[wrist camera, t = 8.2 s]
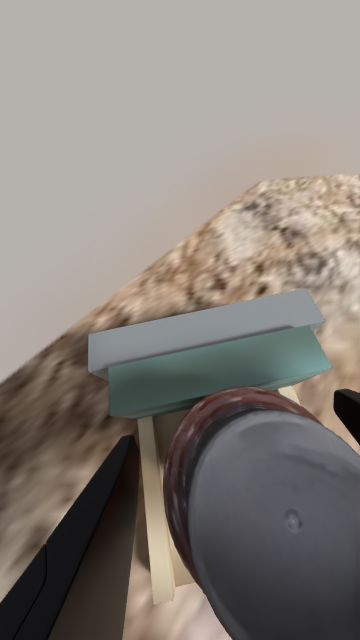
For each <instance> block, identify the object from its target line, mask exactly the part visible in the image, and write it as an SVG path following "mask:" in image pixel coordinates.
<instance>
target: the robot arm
mask: <svg viewBox="0 0 360 640" xmlns="http://www.w3.org/2000/svg"><path fill="white" fill-rule="evenodd" d="M333 408H334V411H335V413H336V415H337V416H338V417H339V419H340V420H341V421H342V423H343V424H344V425H345V427H346V428H347V429H348V431H349V432H350V433H351V434H352V436H353V437H354V438H355V440H356V441H357V442H358V444H359V445H360V393H358V392H355V391H352V390H349V389H340V390H336V391H335V392H334V404H333ZM138 483H139V451H138V448H137V445H136V442H135V439H134V436H133V435H126V436H123V437H121V438H120V440H119V441H118V442H117V444H116V445H115V447H114V448H113V449H112V451H111V452H110V454H109V455H108V456H107V458H106V459H105V461H104V462H103V463H102V465H101V466H100V467H99V469H98V470H97V472H96V473H95V474H94V476H93V477H92V479H91V480H90V481H89V483H88V484H87V485H86V487H85V488H84V490H83V491H82V492H81V494H80V495H79V497H78V498H77V499H76V501H75V502H74V504H73V505H72V506H71V508H70V509H69V510H68V512H67V513H66V515H65V516H64V517H63V519H62V520H61V522H60V523H59V524H58V526H57V527H56V528H55V530H54V531H53V533H52V534H51V535H50V537H49V538H48V540H47V541H46V544H44V545H43V546H42V548H41V549H40V551H39V552H38V553H37V555H36V556H35V557H34V559H33V560H32V562H31V563H30V564H29V566H28V567H27V568H26V570H25V571H24V572H23V574H22V575H21V576H20V578H19V579H18V580H17V582H16V583H15V584H14V586H13V587H12V589H11V590H10V591H9V592H8V594H7V595H6V596H5V597H4V599H3V600H2V601H1V603H0V640H122V637H123V629H124V620H125V611H126V603H127V594H128V586H129V577H130V569H131V560H132V551H133V543H134V534H135V526H136V517H137V508H138Z"/></svg>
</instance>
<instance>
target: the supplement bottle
mask: <svg viewBox="0 0 360 640" xmlns="http://www.w3.org/2000/svg"><path fill="white" fill-rule="evenodd" d="M163 497H164V506H165V514H166V518H167V522H168V527H169V531H170V534H171V537H172V540H173V542H174V546H175V548H176V550H177V552H178V554H179V556H180V558H181V560H182V562H183V564H184V566H185V567H186V569H187V570H188V571H189V573H190V574H191V576H192V578H193V579H194V581H195V582H196V583H197V584H198V585H199V587H200V588H201V589H202V591H203V593H204V594H205V595H206V597H207V599H208V601H209V603H210V605H211V607H212V609H213V611H214V613H215V615H216V617H217V618H218V620H219V621H220V623H221V624H222V626H223V627H224V628H225V630H226V632H227V633H228V634H229V636H230V637H231V638H232V640H360V456H359V455H358V454H357V453H356V452H355V451H354V450H353V449H352V447H351V446H350V445H349V444H348V443H347V442H345V441H344V440H343V439H342V438H341V437H339V436H338V435H336V434H335V433H334V432H333V431H331V430H330V429H328V428H326V427H324V425H323V424H322V423H321V422H320V421H319V420H318V419H317V418H316V417H315V416H313V415H312V414H311V413H310V412H309V411H307V410H306V409H305V408H304V407H302V406H301V405H299V404H298V403H296V402H295V401H293V400H291V399H289V398H287V397H285V396H283V395H281V394H279V393H277V392H274V391H271V390H267V389H263V388H258V387H250V386H248V387H246V386H242V387H239V386H238V387H230V388H227V389H223V390H220V391H217V392H215V393H212V394H211V395H209V396H207V397H205V398H203V399H202V400H200V401H199V402H198V403H196V404H195V405H194V406H193V407H192V408H191V409H190V410H189V411H188V412H187V414H186V415H185V416H184V417H183V419H182V420H181V422H180V423H179V425H178V426H177V428H176V430H175V432H174V435H173V436H172V439H171V442H170V445H169V448H168V451H167V455H166V459H165V463H164V472H163Z"/></svg>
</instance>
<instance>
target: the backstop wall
mask: <svg viewBox="0 0 360 640" xmlns="http://www.w3.org/2000/svg"><path fill="white" fill-rule="evenodd" d="M324 322H325V319H324V318H323V316H322V314H321V312H320V311H319V309H318V307H317V306H316V304H315V302H314V301H313V299H312V297H311V295H310V294H309V292H308V290H307V289H306V288H305V289H300V290H295V291H291V292H286V293H281V294H276V295H272V296H267V297H262V298H257V299H253V300H248V301H243V302H238V303H234V304H229V305H224V306H219V307H215V308H210V309H205V310H200V311H196V312H191V313H186V314H181V315H177V316H172V317H167V318H162V319H158V320H153V321H148V322H143V323H139V324H134V325H129V326H124V327H120V328H115V329H110V330H106V331H101V332H96V333H91V334H89V335H88V372H89V373H91V374H94V375H96V376H98V377H100V378H102V379H104V380H106V381H108V382H109V375H108V367H112V366H117V365H121V364H126V363H131V362H136V361H140V360H145V359H150V358H154V357H159V356H164V355H169V354H173V353H178V352H183V351H187V350H192V349H197V348H201V347H206V346H211V345H216V344H220V343H225V342H230V341H234V340H239V339H244V338H249V337H253V336H258V335H263V334H267V333H272V332H277V331H281V330H286V329H291V328H296V327H300V326H305V325H309V326H310V327H311V329H312V331H315V330H316V329H317V328H318V327H319V326H321V325H322V324H323V323H324Z"/></svg>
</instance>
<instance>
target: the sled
mask: <svg viewBox="0 0 360 640" xmlns="http://www.w3.org/2000/svg"><path fill="white" fill-rule="evenodd" d="M329 369H332V366H331V365H330V363H329V361H328V359H327V357H326V355H325V353H324V352H323V350H322V348H321V346H320V344H319V342H318V340H317V339H316V337H315V335H314V333H313V331H312V329H311V327H310V326H309V325H305V326H300V327H296V328H291V329H286V330H281V331H277V332H272V333H267V334H263V335H258V336H253V337H249V338H244V339H239V340H234V341H230V342H225V343H220V344H216V345H211V346H206V347H201V348H197V349H192V350H187V351H183V352H178V353H173V354H169V355H164V356H159V357H154V358H150V359H145V360H140V361H136V362H131V363H126V364H121V365H117V366H112V367H108V375H109V408H110V416H115V417H124V418H133V419H138V429H139V441H140V453H141V464H142V476H143V487H144V499H145V510H146V522H147V534H148V545H149V557H150V568H151V580H152V592H153V603H154V605H156V604H160V603H164V602H169V601H173V598H174V592H175V587H177V586H182V585H186V584H191V583H195V581H194V579H193V578H192V576H191V574H190V573H189V571H188V570H187V569H186V567H185V566H184V564H183V562H182V560H181V558H180V556H179V554H178V552H177V550H176V548H175V546H174V542H173V540H172V537H171V534H170V531H169V527H168V522H167V518H166V514H165V506H164V497H163V472H164V463H165V459H166V455H167V451H168V448H169V445H170V442H171V439H172V436H173V435H174V432H175V430H176V428H177V426H178V425H179V423H180V422H181V420H182V419H183V417H184V416H185V415H186V414H187V412H188V411H189V410H190V409H191V408H192V407H193V406H194V405H195V404H196V403H198V402H199V401H200V400H202V399H203V398H205V397H207V396H209V395H211V394H212V393H215V392H217V391H220V390H223V389H227V388H230V387H238V386H239V387H242V386H246V387H248V386H250V387H258V388H263V389H267V390H271V391H274V392H277V393H279V394H281V395H283V396H285V397H287V398H289V399H291V400H293V401H295V402H296V403H298V404H299V405H300V403H299V401H298V398H297V396H296V394H295V391H294V389H293V387H292V386H293V385H295V384H297V383H300V382H302V381H304V380H306V379H309V378H311V377H313V376H316V375H318V374H320V373H322V372H325V371H327V370H329Z"/></svg>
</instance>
